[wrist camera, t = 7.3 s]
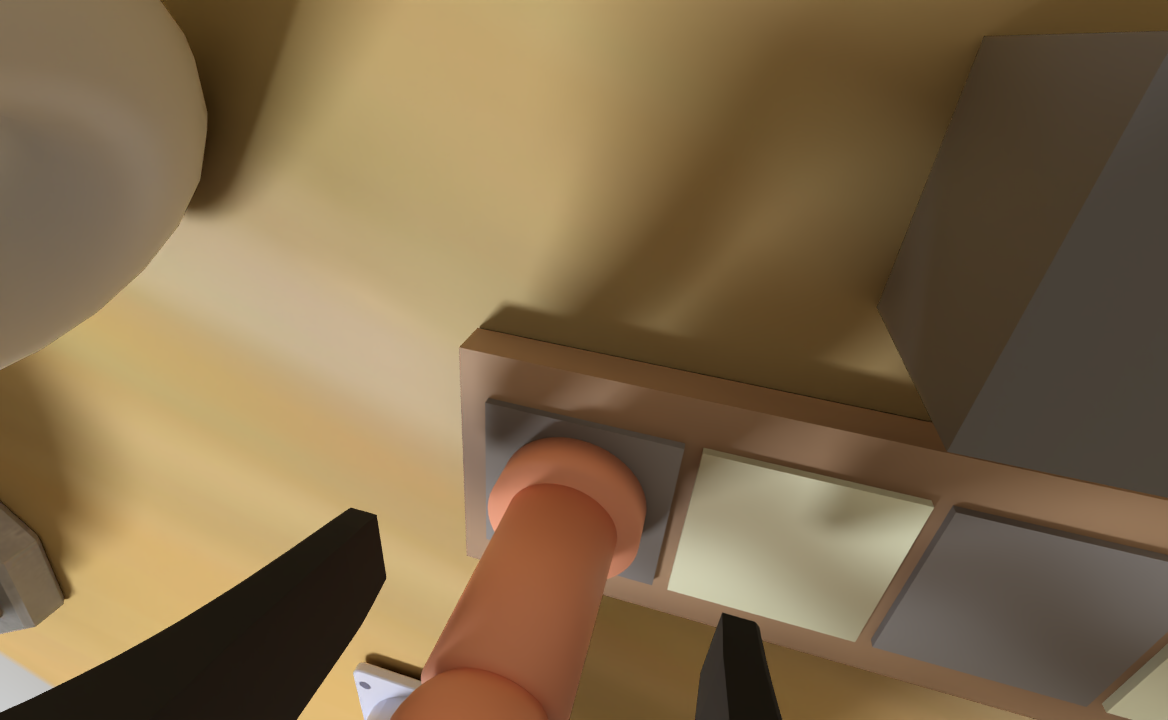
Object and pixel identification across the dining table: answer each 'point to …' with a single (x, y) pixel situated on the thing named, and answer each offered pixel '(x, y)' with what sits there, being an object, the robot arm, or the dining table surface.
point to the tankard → (24, 576)
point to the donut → (89, 156)
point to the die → (1046, 262)
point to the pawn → (534, 587)
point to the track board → (848, 531)
